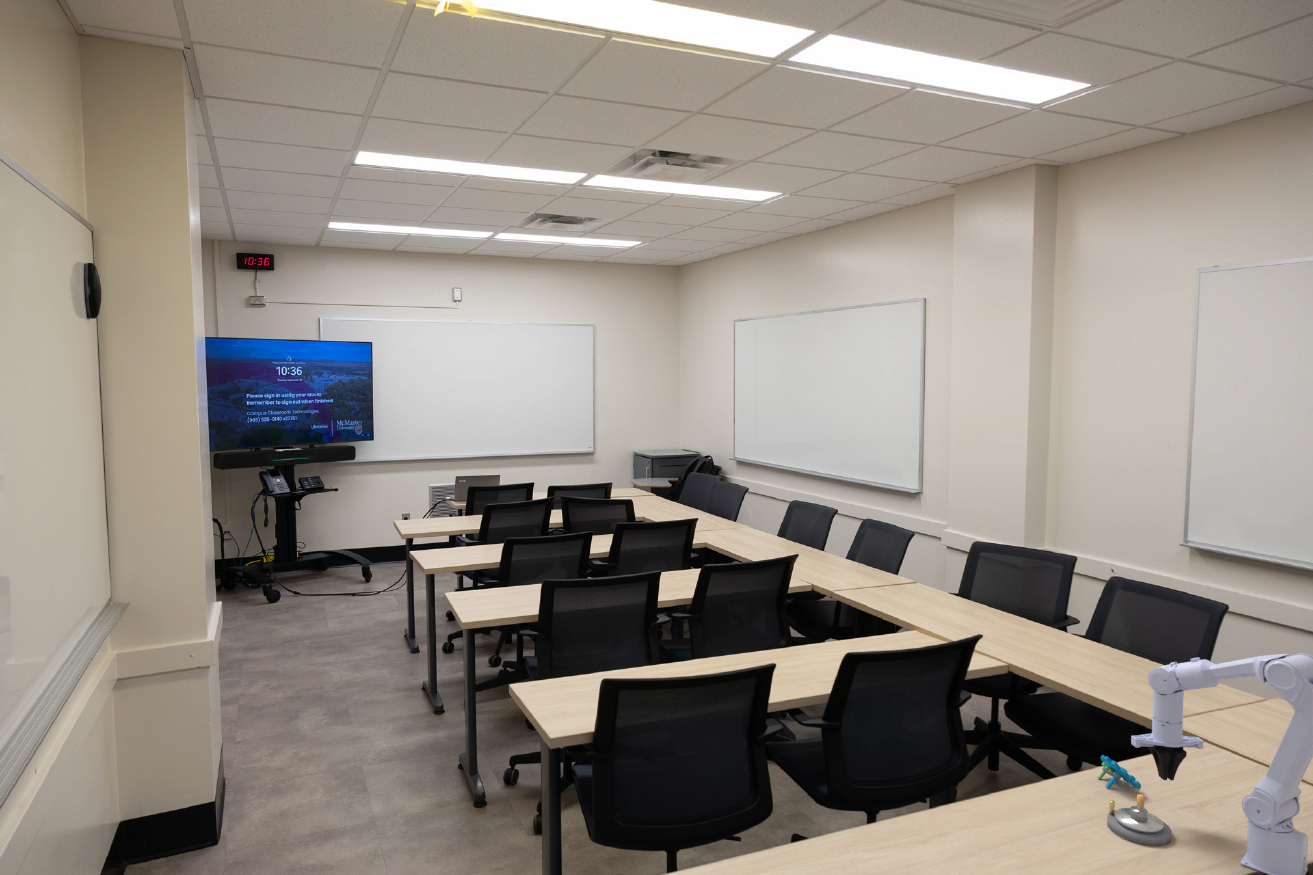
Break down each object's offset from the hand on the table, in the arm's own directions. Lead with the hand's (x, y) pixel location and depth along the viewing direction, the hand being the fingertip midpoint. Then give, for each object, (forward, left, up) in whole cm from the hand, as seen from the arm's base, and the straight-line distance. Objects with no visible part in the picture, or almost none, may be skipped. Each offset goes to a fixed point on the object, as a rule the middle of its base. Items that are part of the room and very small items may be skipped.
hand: (1166, 778), depth 176 cm
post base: (+2, +10, -9) cm, 14 cm away
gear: (+12, -9, -10) cm, 18 cm away
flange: (+3, +9, -7) cm, 12 cm away
